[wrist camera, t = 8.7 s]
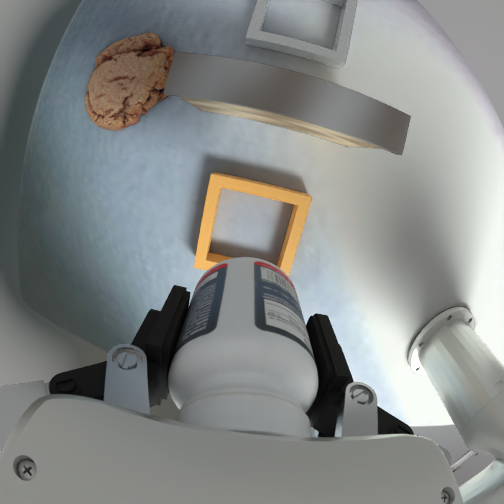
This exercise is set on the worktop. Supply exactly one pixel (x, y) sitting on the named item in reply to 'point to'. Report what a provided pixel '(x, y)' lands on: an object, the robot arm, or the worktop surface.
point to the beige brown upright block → (286, 101)
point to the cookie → (128, 81)
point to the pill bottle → (244, 353)
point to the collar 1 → (304, 48)
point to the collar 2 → (260, 189)
